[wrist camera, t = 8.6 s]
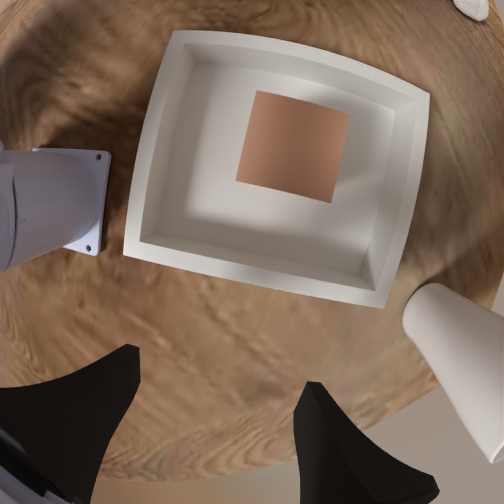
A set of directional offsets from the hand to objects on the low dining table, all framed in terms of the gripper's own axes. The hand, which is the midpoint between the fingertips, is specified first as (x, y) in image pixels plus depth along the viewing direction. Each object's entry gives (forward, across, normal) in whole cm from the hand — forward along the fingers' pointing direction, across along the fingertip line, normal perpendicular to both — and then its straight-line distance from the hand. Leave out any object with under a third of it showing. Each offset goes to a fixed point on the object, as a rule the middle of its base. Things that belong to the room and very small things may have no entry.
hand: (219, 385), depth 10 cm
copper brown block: (+8, -1, -10) cm, 13 cm away
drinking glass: (+10, -16, -2) cm, 19 cm away
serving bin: (+9, -1, -10) cm, 14 cm away
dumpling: (+10, -16, -36) cm, 40 cm away
